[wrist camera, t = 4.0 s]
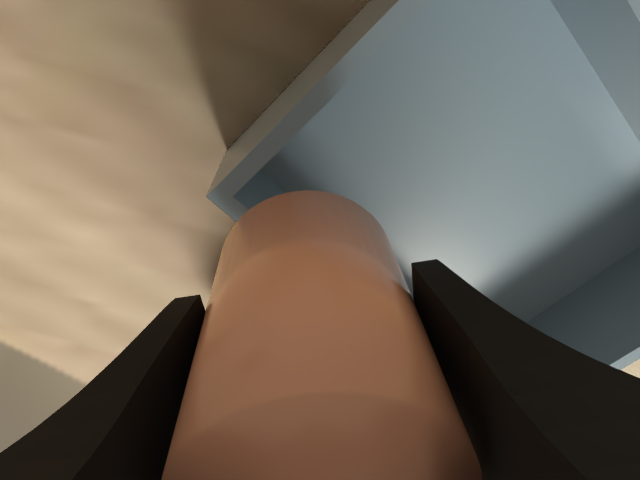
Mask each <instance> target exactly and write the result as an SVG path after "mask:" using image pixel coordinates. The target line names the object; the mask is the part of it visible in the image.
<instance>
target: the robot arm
mask: <svg viewBox="0 0 640 480" xmlns="http://www.w3.org/2000/svg"><path fill="white" fill-rule="evenodd" d="M411 268H412V284H413V300H414V303H415V306H416V308H417V311H418V313H419V315H420V318H421V320H422V323H423V325H424V328H425V330H426V333H427V335H428V338H429V340H430V342H431V345H432V347H433V350H434V352H435V355H436V357H437V360H438V362H439V365H440V367H441V369H442V372H443V374H444V377H445V379H446V382H447V384H448V387H449V389H450V392H451V394H452V396H453V399H454V401H455V404H456V406H457V409H458V411H459V414H460V416H461V419H462V421H463V423H464V426H465V428H466V431H467V433H468V436H469V438H470V441H471V443H472V446H473V448H474V450H475V453H476V455H477V458H478V461H479V464H480V468H481V471H482V480H640V378H637V377H635V376H633V375H630V374H628V373H626V372H623V371H621V370H619V369H616V368H614V367H612V366H609V365H607V364H605V363H602V362H600V361H598V360H596V359H593V358H591V357H589V356H587V355H585V354H583V353H581V352H579V351H577V350H575V349H573V348H571V347H569V346H567V345H565V344H563V343H561V342H559V341H557V340H556V339H554V338H552V337H550V336H548V335H546V334H544V333H543V332H541V331H539V330H537V329H535V328H534V327H532V326H530V325H529V324H527V323H526V322H524V321H522V320H521V319H519V318H518V317H516V316H514V315H513V314H511V313H510V312H508V311H507V310H505V309H504V308H502V307H501V306H499V305H498V304H496V303H495V302H493V301H492V300H490V299H489V298H488V297H486V296H485V295H483V294H482V293H481V292H479V291H478V290H477V289H475V288H474V287H473V286H471V285H470V284H469V283H467V282H466V281H465V280H463V279H462V278H461V277H460V276H458V275H457V274H456V273H455V272H453V271H452V270H451V269H449V268H448V267H447V266H446V265H444V264H443V263H442V262H440V261H439V260H438V259H434V260H427V261H421V262H414V263H411ZM204 316H205V309H204V306H203V303H202V300H201V297H200V295H195V296H188V297H181V298H175V299H174V300H173V301H172V302H171V303H169V304H168V305H167V306H166V307H165V308H164V309H163V310H162V311H161V312H160V313H159V314H158V315H157V316H156V318H155V319H154V320H153V321H152V322H151V323H150V324H149V325H148V326H147V327H146V328H145V329H144V330H143V331H142V332H141V333H140V334H139V335H138V336H137V337H136V338H135V339H134V340H133V341H132V342H131V343H130V344H129V345H128V346H127V347H126V348H125V349H124V350H123V351H122V352H121V353H120V354H119V355H118V356H117V357H116V358H115V359H114V360H113V361H112V362H111V363H110V364H109V365H108V366H107V367H106V368H105V369H104V370H103V371H101V372H100V373H99V374H98V375H97V376H96V377H95V378H94V379H93V380H92V381H91V382H90V383H89V384H88V385H87V386H85V387H84V388H83V389H82V390H81V391H80V392H79V393H78V394H77V395H75V396H74V397H73V398H72V399H71V400H70V401H68V402H67V403H66V404H65V405H64V406H62V407H61V408H60V409H59V410H57V411H56V412H55V413H54V414H52V415H51V416H50V417H49V418H47V419H46V420H45V421H43V422H42V423H41V424H40V425H38V426H37V427H36V428H34V430H32V431H31V432H29V433H28V434H26V435H25V436H24V437H22V438H21V439H20V440H18V441H17V442H15V443H14V444H12V445H11V446H10V447H8V448H7V449H5V450H4V451H2V452H1V453H0V480H161V479H162V475H163V471H164V467H165V464H166V460H167V456H168V452H169V449H170V445H171V441H172V437H173V433H174V430H175V426H176V422H177V418H178V414H179V411H180V407H181V403H182V399H183V396H184V392H185V388H186V384H187V380H188V377H189V373H190V369H191V365H192V361H193V358H194V354H195V350H196V346H197V342H198V339H199V335H200V331H201V327H202V324H203V320H204Z"/></svg>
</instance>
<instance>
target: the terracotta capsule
mask: <svg viewBox="0 0 640 480" xmlns="http://www.w3.org/2000/svg"><path fill="white" fill-rule="evenodd" d="M161 480H482V471H481V468H480V464H479V461H478V458H477V455H476V453H475V450H474V448H473V446H472V443H471V441H470V438H469V436H468V433H467V431H466V428H465V426H464V423H463V421H462V419H461V416H460V414H459V411H458V409H457V406H456V404H455V401H454V399H453V396H452V394H451V392H450V389H449V387H448V384H447V382H446V379H445V377H444V374H443V372H442V369H441V367H440V365H439V362H438V360H437V357H436V355H435V352H434V350H433V347H432V345H431V342H430V340H429V338H428V335H427V333H426V330H425V328H424V325H423V323H422V320H421V318H420V315H419V313H418V311H417V308H416V306H415V303H414V301H413V298H412V296H411V293H410V291H409V288H408V286H407V284H406V281H405V279H404V276H403V274H402V271H401V269H400V266H399V264H398V261H397V259H396V256H395V254H394V252H393V249H392V247H391V244H390V242H389V239H388V237H387V235H386V233H385V231H384V229H383V228H382V226H381V225H380V224H379V222H378V221H377V220H376V219H375V218H374V217H373V215H372V214H371V213H370V212H368V211H367V210H366V209H364V208H363V207H362V206H360V205H359V204H357V203H355V202H354V201H352V200H350V199H347V198H345V197H343V196H340V195H337V194H333V193H329V192H323V191H313V190H302V191H293V192H288V193H283V194H279V195H277V196H274V197H271V198H268V199H266V200H264V201H263V202H261V203H259V204H257V205H256V206H254V207H253V208H251V209H250V210H248V211H247V212H246V213H245V214H244V215H243V216H242V217H241V218H240V219H239V220H238V221H237V222H236V223H235V225H234V226H233V227H232V229H231V230H230V232H229V234H228V235H227V237H226V240H225V242H224V245H223V248H222V252H221V255H220V259H219V263H218V267H217V271H216V274H215V278H214V282H213V286H212V289H211V293H210V297H209V301H208V305H207V308H206V312H205V316H204V320H203V324H202V327H201V331H200V335H199V339H198V342H197V346H196V350H195V354H194V358H193V361H192V365H191V369H190V373H189V377H188V380H187V384H186V388H185V392H184V396H183V399H182V403H181V407H180V411H179V414H178V418H177V422H176V426H175V430H174V433H173V437H172V441H171V445H170V449H169V452H168V456H167V460H166V464H165V467H164V471H163V475H162V479H161Z"/></svg>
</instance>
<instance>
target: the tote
mask: <svg viewBox="0 0 640 480" xmlns="http://www.w3.org/2000/svg"><path fill="white" fill-rule="evenodd" d="M302 190H313V191H323V192H329V193H333V194H337V195H340V196H343V197H345V198H347V199H350V200H352V201H354V202H355V203H357V204H359V205H360V206H362V207H363V208H364V209H366V210H367V211H368V212H370V213H371V214H372V215H373V217H374V218H375V219H376V220H377V221H378V222H379V224H380V225H381V226H382V228H383V229H384V231H385V233H386V235H387V237H388V239H389V242H390V244H391V247H392V249H393V252H394V254H395V256H396V259H397V261H398V264H399V266H400V269H401V271H402V274H403V276H404V279H405V281H406V284H407V286H408V288H409V291H410V293H411V296H412V298H413V284H412V268H411V263H414V262H421V261H427V260H434V259H438V260H439V261H440V262H442V263H443V264H444V265H446V266H447V267H448V268H449V269H451V270H452V271H453V272H455V273H456V274H457V275H458V276H460V277H461V278H462V279H463V280H465V281H466V282H467V283H469V284H470V285H471V286H473V287H474V288H475V289H477V290H478V291H479V292H481V293H482V294H483V295H485V296H486V297H488V298H489V299H490V300H492V301H493V302H495V303H496V304H498V305H499V306H501V307H502V308H504V309H505V310H507V311H508V312H510V313H511V314H513V315H514V316H516V317H518V318H519V319H521V320H522V321H524V322H526V323H527V324H529V325H530V326H532V327H534V328H535V329H537V330H539V331H541V332H543V333H544V334H546V335H548V336H550V337H552V338H554V339H556V340H557V341H559V342H561V343H563V344H565V345H567V346H569V347H571V348H573V349H575V350H577V351H579V352H581V353H583V354H585V355H587V356H589V357H591V358H593V359H596V360H598V361H600V362H602V363H605V364H607V365H609V366H612V367H614V368H616V369H619V370H621V369H623V368H625V367H626V366H628V365H630V364H631V363H633V362H635V361H636V360H638V359H640V0H370V1H369V2H368V3H367V4H366V5H365V6H364V7H363V8H362V9H361V11H360V12H359V13H358V14H357V15H356V16H355V17H354V18H353V19H352V20H351V21H350V22H349V23H348V24H347V25H346V26H345V27H344V28H343V29H342V30H341V31H340V32H339V33H338V35H337V36H336V37H335V38H334V39H333V40H332V41H331V42H330V43H329V44H328V45H327V46H326V47H325V48H324V49H323V50H322V51H321V52H320V53H319V54H318V55H317V56H316V58H315V59H314V60H313V61H312V62H311V63H310V64H309V65H308V66H307V67H306V68H305V69H304V70H303V71H302V72H301V73H300V74H299V75H298V76H297V77H296V78H295V79H294V81H293V82H292V83H291V84H290V85H289V86H288V87H287V88H286V89H285V90H284V91H283V92H282V93H281V94H280V95H279V96H278V97H277V98H276V99H275V100H274V101H273V102H272V104H271V105H270V106H269V107H268V108H267V109H266V110H265V111H264V112H263V113H262V114H261V115H260V116H259V117H258V118H257V119H256V120H255V121H254V122H253V123H252V124H251V125H250V127H249V128H248V129H247V130H246V131H245V132H244V133H243V134H242V135H241V136H240V137H239V138H238V139H237V140H236V141H235V142H234V143H233V144H232V145H231V146H230V147H229V148H228V150H227V151H226V153H225V155H224V158H223V160H222V162H221V164H220V167H219V169H218V171H217V173H216V176H215V178H214V180H213V183H212V185H211V187H210V189H209V192H208V194H207V196H206V197H207V198H208V199H209V200H211V201H212V202H213V203H214V204H215V205H217V206H218V207H219V208H220V209H221V210H223V211H224V212H225V213H226V214H227V215H229V216H230V217H231V218H232V219H233V220H235V221H236V222H237V221H238V220H239V219H240V218H241V217H242V216H243V215H244V214H245V213H246V212H247V211H248V210H250V209H251V208H253V207H254V206H256V205H257V204H259V203H261V202H263V201H264V200H266V199H268V198H271V197H274V196H277V195H279V194H283V193H288V192H293V191H302ZM413 301H414V300H413Z"/></svg>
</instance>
